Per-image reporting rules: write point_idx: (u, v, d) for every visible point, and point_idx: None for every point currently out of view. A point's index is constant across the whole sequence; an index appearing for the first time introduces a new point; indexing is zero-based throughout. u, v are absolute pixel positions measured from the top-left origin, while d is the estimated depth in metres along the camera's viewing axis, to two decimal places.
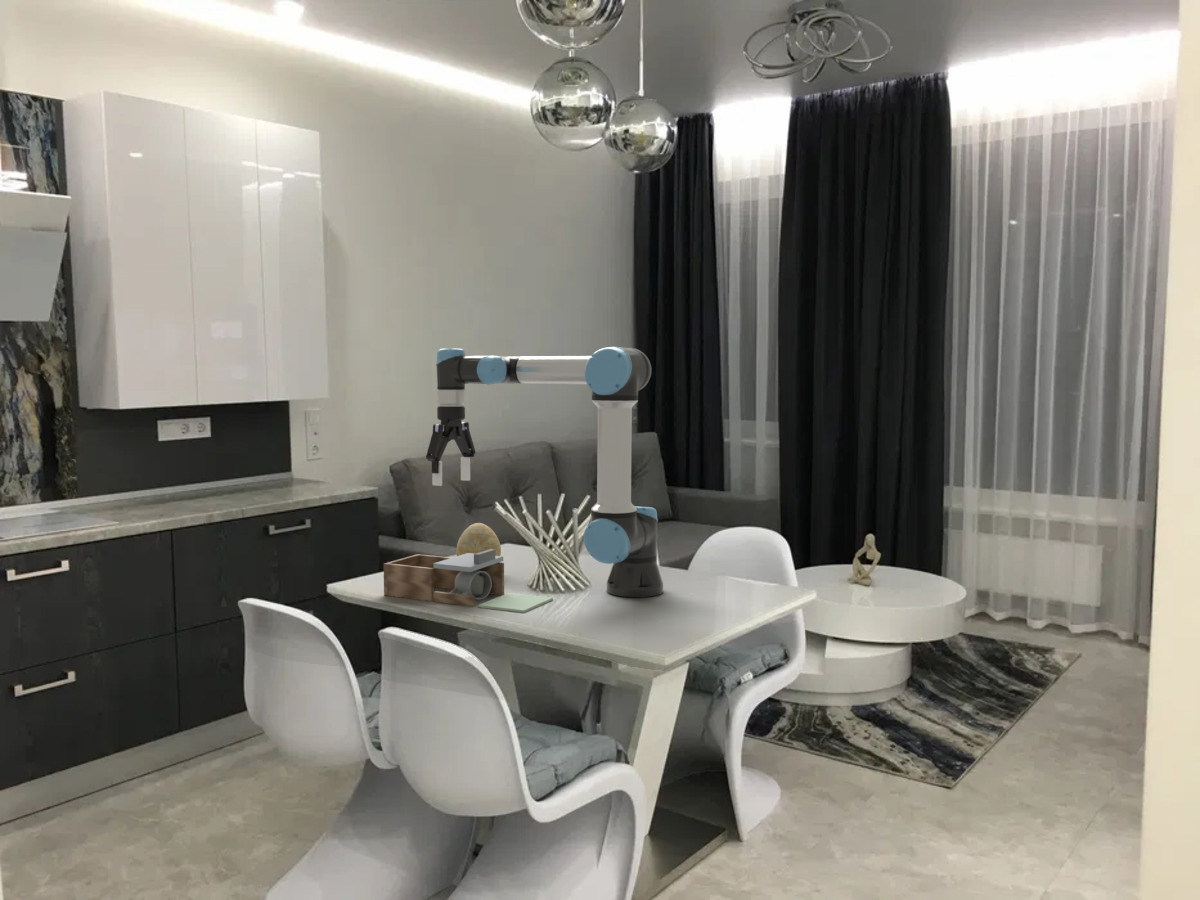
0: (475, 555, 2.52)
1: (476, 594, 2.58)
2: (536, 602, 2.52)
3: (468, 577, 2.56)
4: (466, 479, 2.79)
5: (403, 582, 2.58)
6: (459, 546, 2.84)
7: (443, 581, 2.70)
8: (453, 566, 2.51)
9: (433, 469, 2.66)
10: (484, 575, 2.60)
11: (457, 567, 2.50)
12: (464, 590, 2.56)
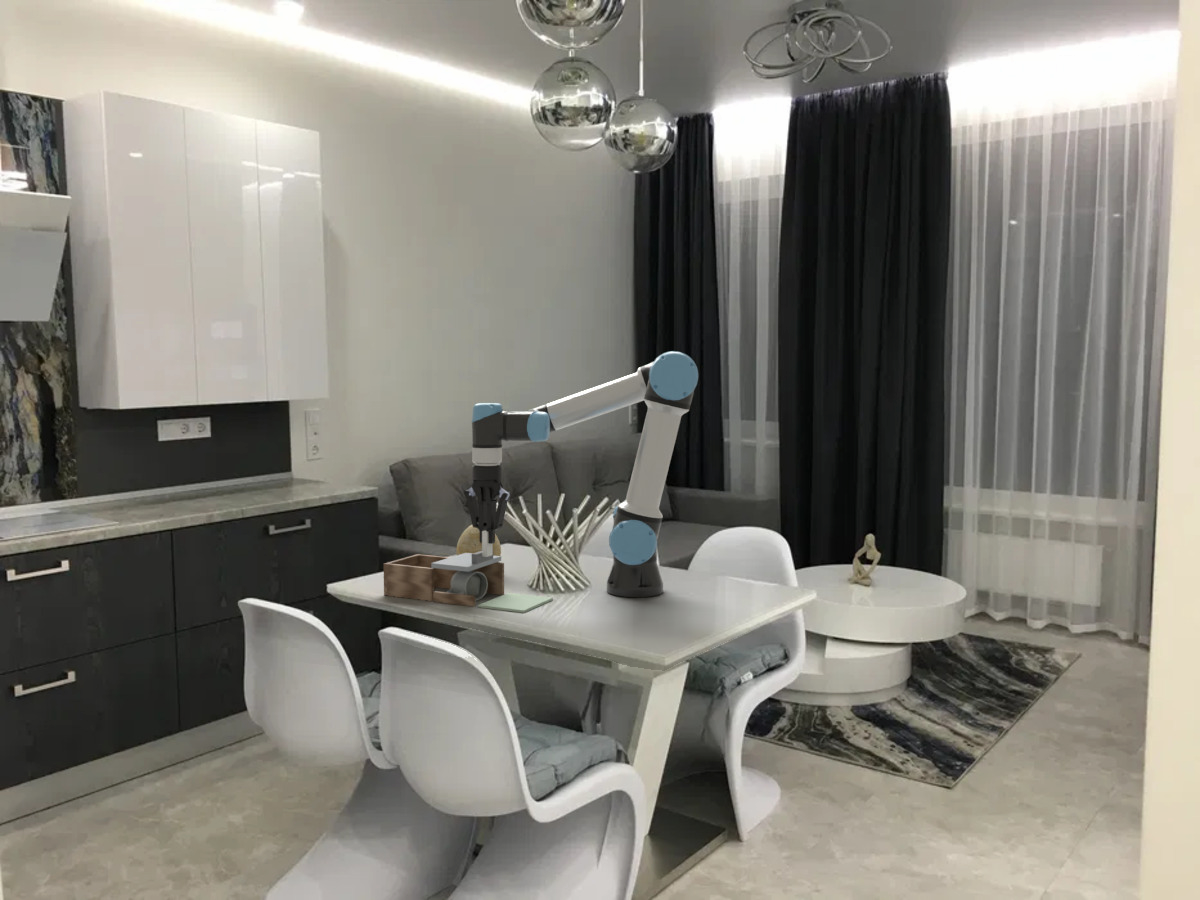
0: (473, 555, 2.53)
1: (472, 595, 2.57)
2: (536, 602, 2.52)
3: (464, 578, 2.55)
4: None
5: (403, 582, 2.58)
6: (459, 546, 2.84)
7: (443, 581, 2.70)
8: (451, 566, 2.51)
9: None
10: (480, 576, 2.59)
11: (455, 567, 2.50)
12: (460, 591, 2.55)
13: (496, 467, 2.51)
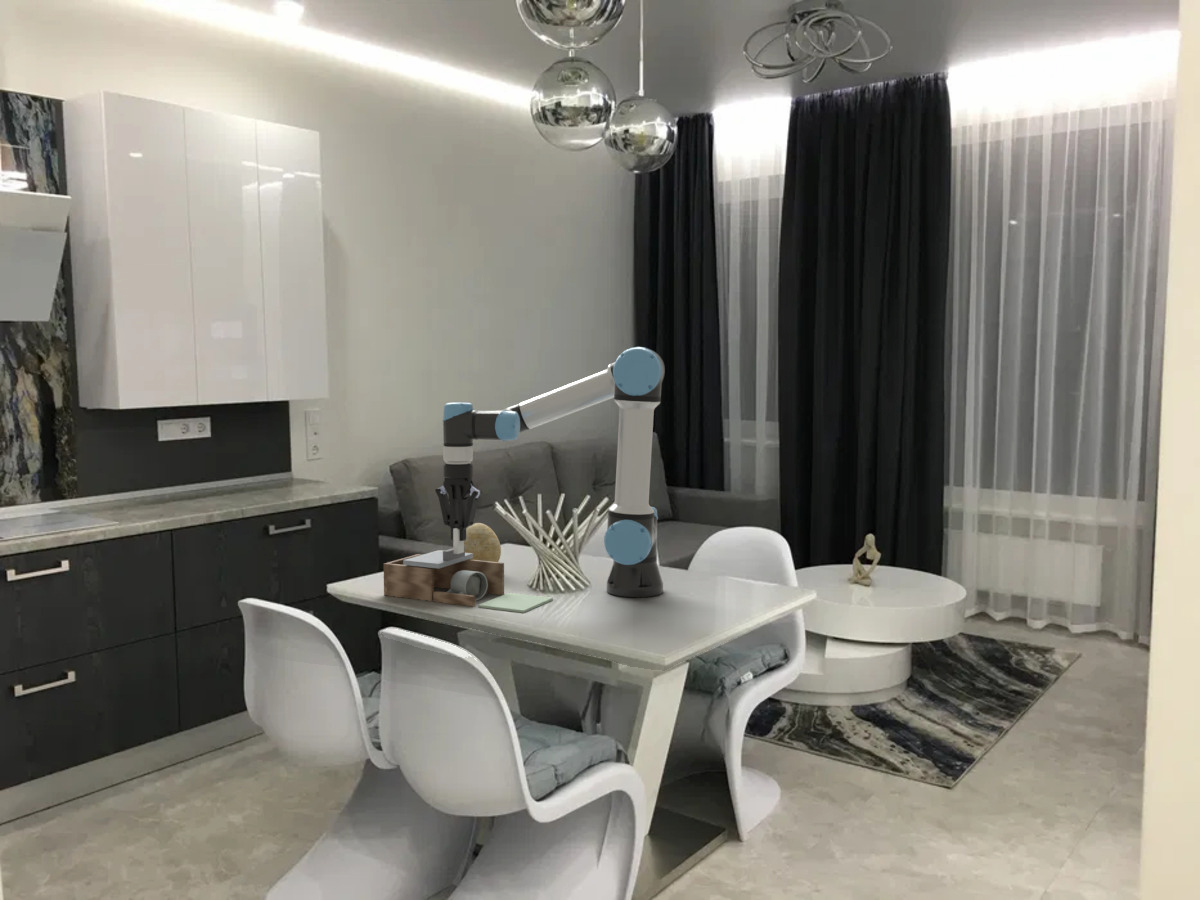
0: (444, 552, 2.56)
1: (472, 595, 2.57)
2: (536, 602, 2.52)
3: (463, 578, 2.55)
4: None
5: (403, 582, 2.58)
6: None
7: (443, 581, 2.70)
8: (422, 563, 2.55)
9: None
10: (480, 576, 2.59)
11: (426, 564, 2.54)
12: (460, 591, 2.55)
13: (467, 465, 2.55)
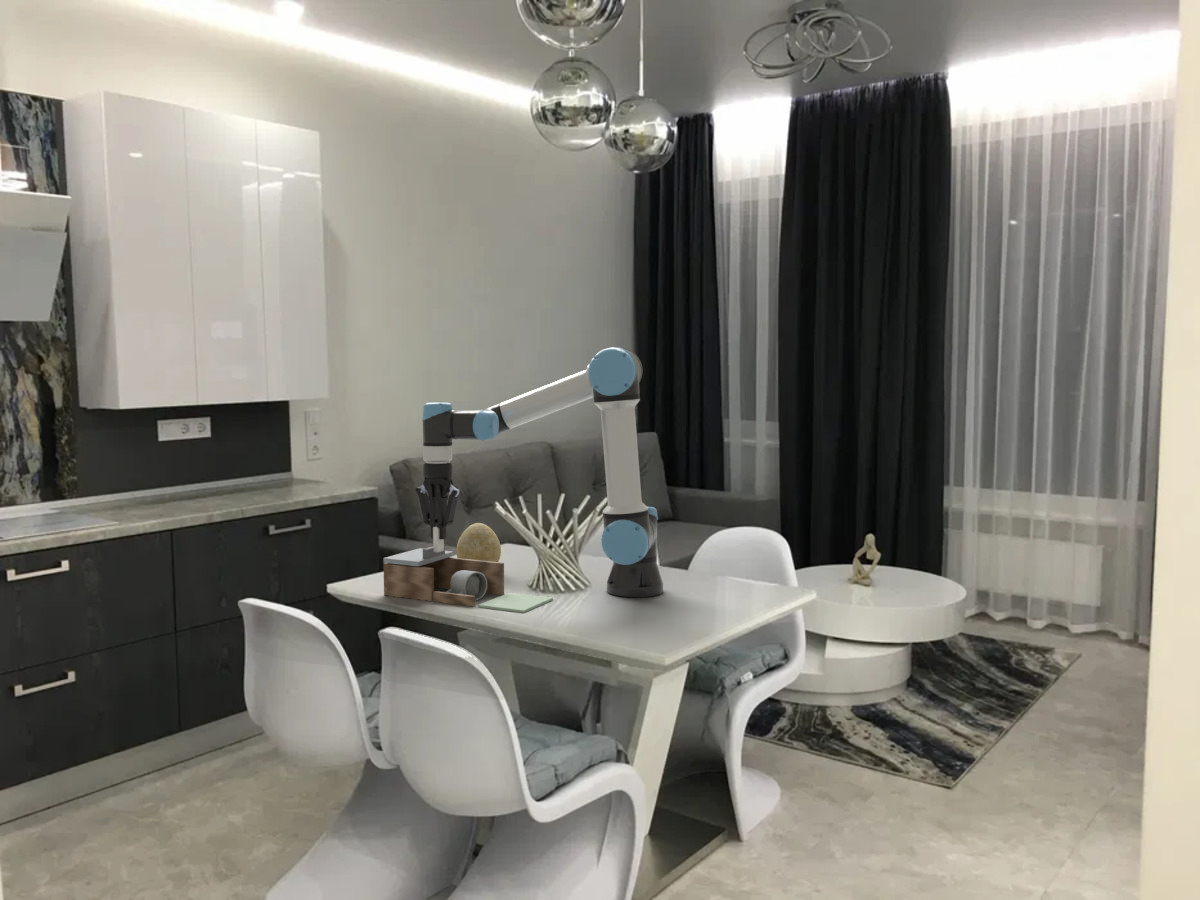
0: (424, 550, 2.59)
1: None
2: (536, 602, 2.52)
3: (463, 578, 2.55)
4: None
5: (403, 582, 2.58)
6: (459, 546, 2.84)
7: (443, 581, 2.70)
8: (402, 561, 2.57)
9: None
10: (480, 576, 2.59)
11: (406, 562, 2.57)
12: (459, 591, 2.55)
13: (446, 465, 2.57)
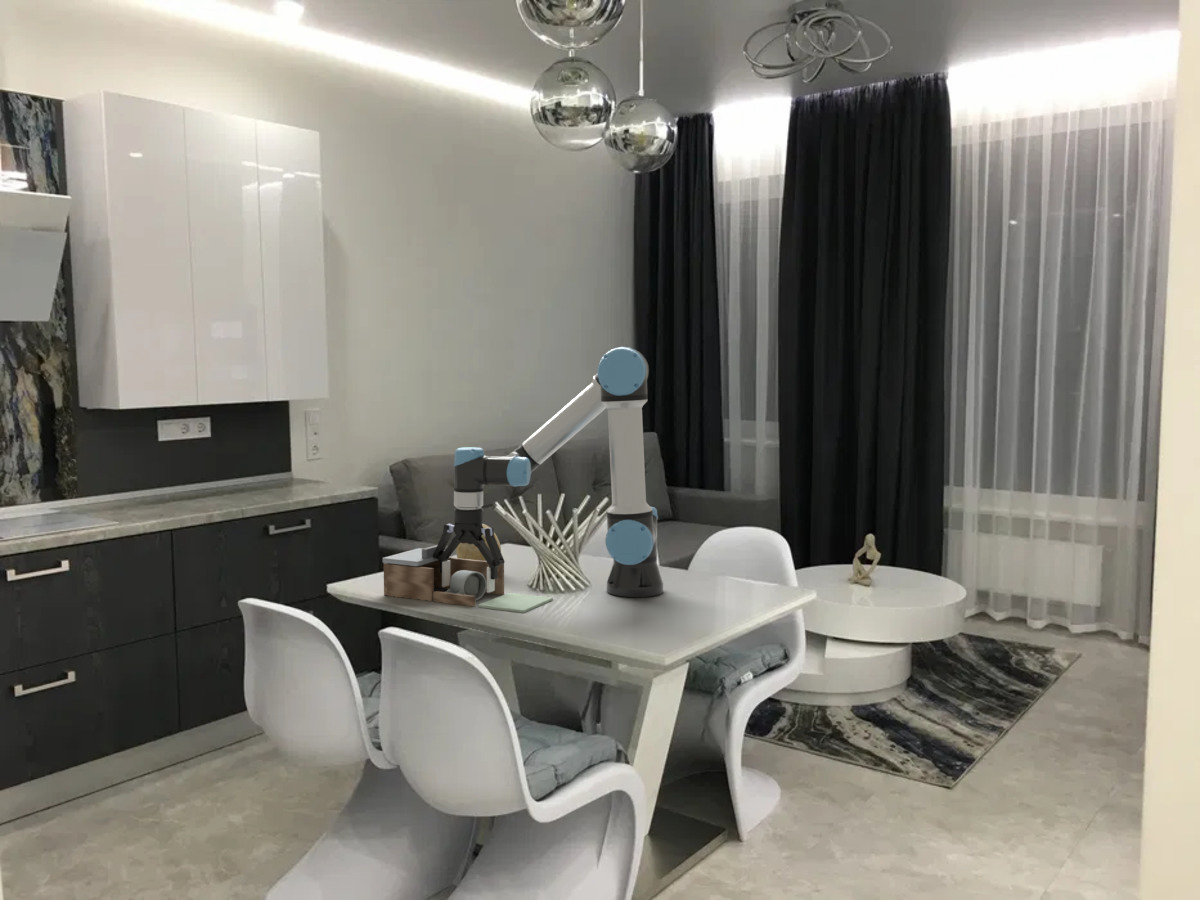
0: (423, 550, 2.59)
1: None
2: (536, 602, 2.52)
3: (462, 578, 2.55)
4: None
5: (403, 582, 2.58)
6: (459, 546, 2.84)
7: None
8: (401, 561, 2.57)
9: None
10: (479, 576, 2.59)
11: (405, 561, 2.57)
12: (458, 591, 2.56)
13: (477, 511, 2.54)
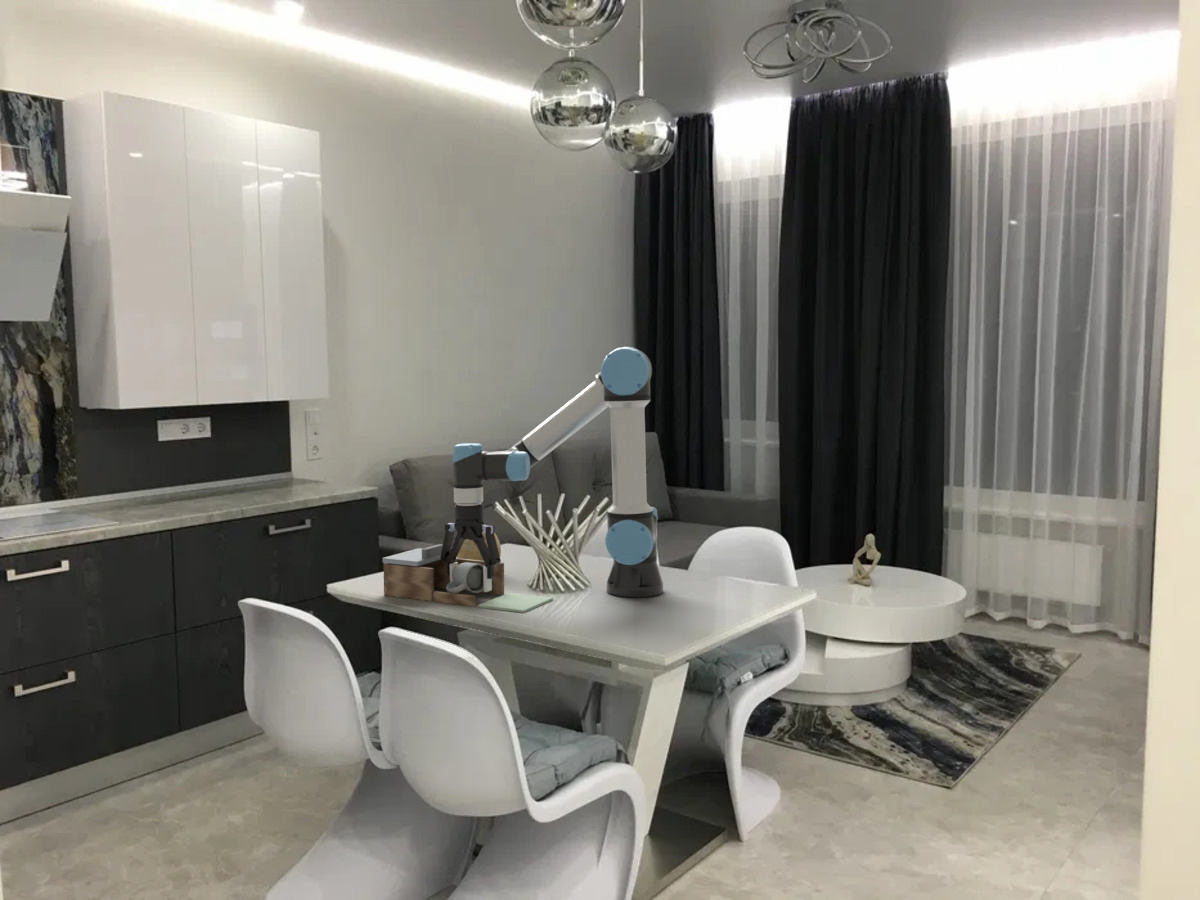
0: (423, 550, 2.59)
1: (473, 587, 2.57)
2: (536, 602, 2.52)
3: (464, 570, 2.55)
4: None
5: (403, 582, 2.58)
6: None
7: (443, 581, 2.70)
8: (401, 561, 2.57)
9: None
10: (482, 568, 2.58)
11: (405, 561, 2.57)
12: (461, 583, 2.55)
13: (477, 507, 2.54)
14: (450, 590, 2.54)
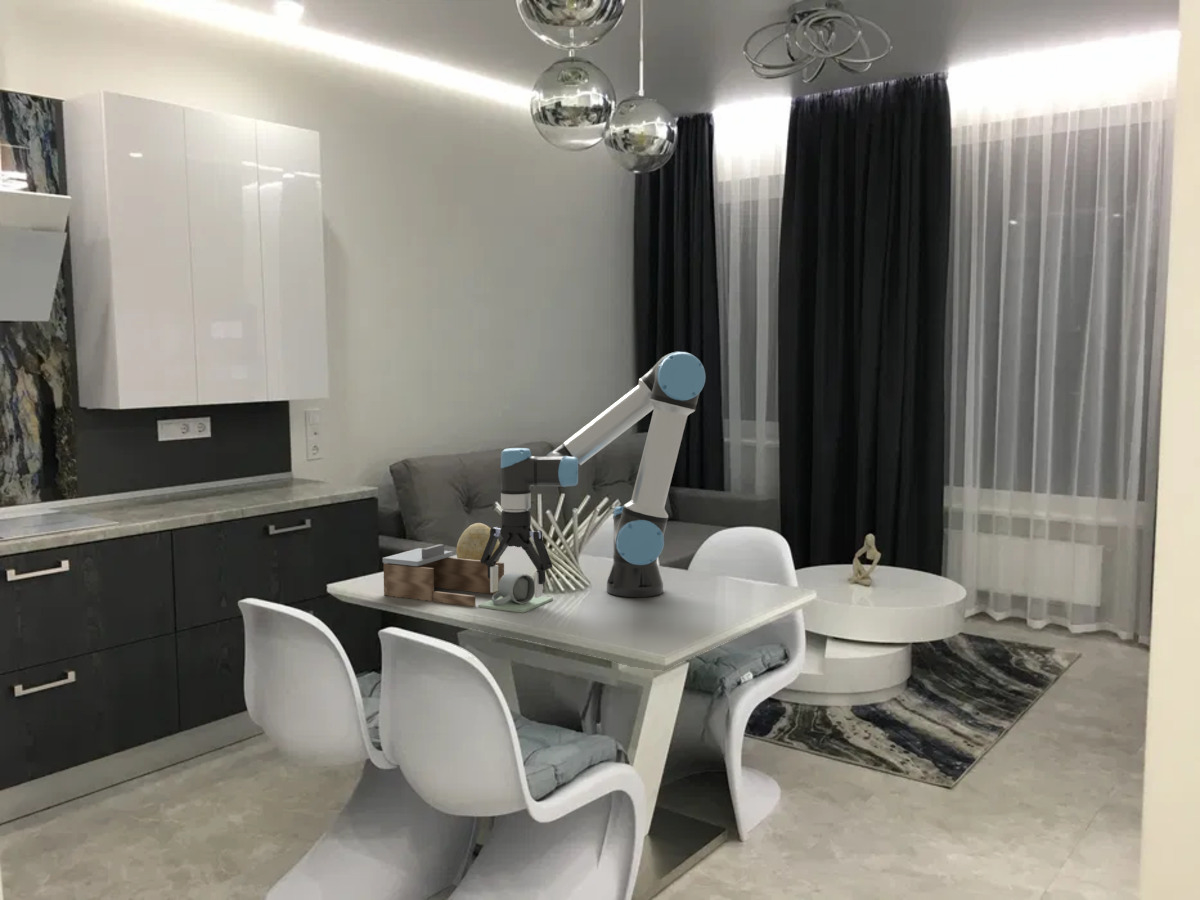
0: (423, 550, 2.59)
1: (519, 598, 2.51)
2: (536, 602, 2.52)
3: (511, 581, 2.49)
4: None
5: (403, 582, 2.58)
6: (459, 546, 2.84)
7: (443, 581, 2.70)
8: (401, 561, 2.57)
9: None
10: (528, 579, 2.52)
11: (405, 561, 2.57)
12: (507, 594, 2.49)
13: (525, 513, 2.48)
14: (496, 601, 2.48)
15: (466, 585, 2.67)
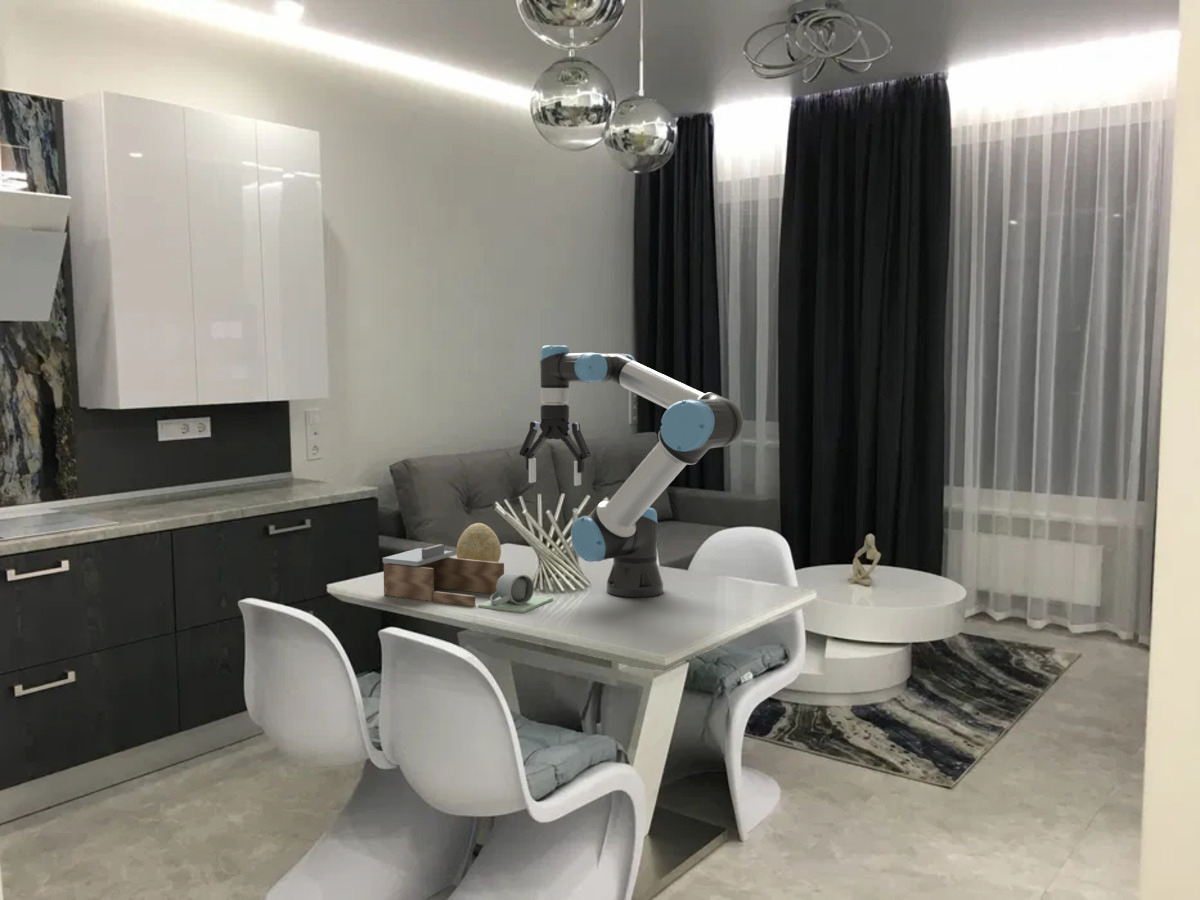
0: (423, 550, 2.59)
1: (518, 598, 2.50)
2: (536, 602, 2.52)
3: (509, 581, 2.48)
4: None
5: (403, 582, 2.58)
6: (459, 546, 2.84)
7: (443, 581, 2.70)
8: (401, 561, 2.57)
9: None
10: (526, 579, 2.52)
11: (405, 561, 2.57)
12: (505, 594, 2.49)
13: (564, 406, 2.62)
14: (494, 601, 2.47)
15: (466, 585, 2.67)
